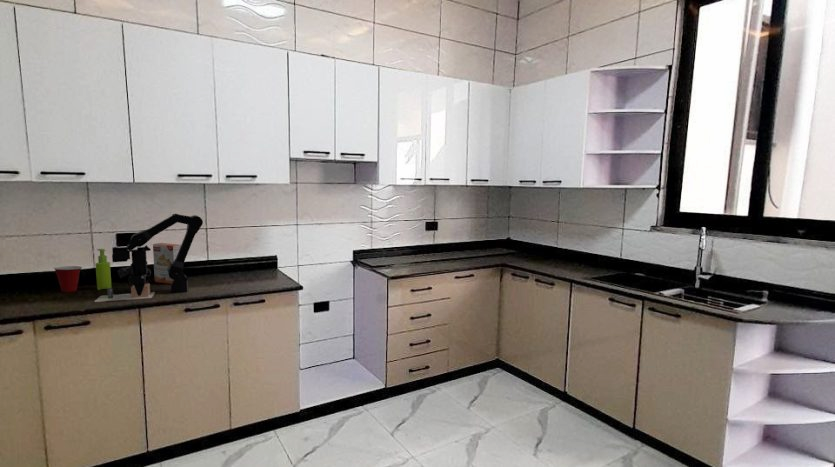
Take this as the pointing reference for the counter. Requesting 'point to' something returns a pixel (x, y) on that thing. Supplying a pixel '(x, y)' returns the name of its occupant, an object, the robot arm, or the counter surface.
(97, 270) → the soap dispenser
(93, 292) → the counter surface
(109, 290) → the steel pin
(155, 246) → the cracker box
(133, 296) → the pink hollow square block
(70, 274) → the plastic cup
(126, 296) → the base plate
